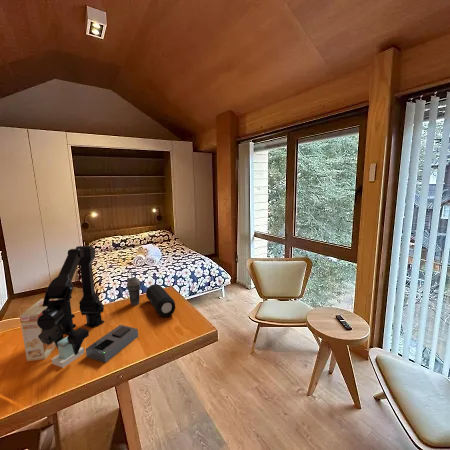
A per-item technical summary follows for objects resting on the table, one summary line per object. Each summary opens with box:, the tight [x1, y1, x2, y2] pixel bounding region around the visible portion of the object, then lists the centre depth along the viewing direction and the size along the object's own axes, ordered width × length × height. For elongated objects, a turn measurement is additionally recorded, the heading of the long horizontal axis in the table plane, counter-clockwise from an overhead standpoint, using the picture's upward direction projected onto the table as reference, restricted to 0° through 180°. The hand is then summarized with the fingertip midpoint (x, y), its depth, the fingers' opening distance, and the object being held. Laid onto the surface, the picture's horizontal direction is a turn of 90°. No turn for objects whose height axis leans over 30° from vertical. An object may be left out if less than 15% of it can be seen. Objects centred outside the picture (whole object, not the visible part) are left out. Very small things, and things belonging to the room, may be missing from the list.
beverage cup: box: [126, 270, 141, 306], centre depth 142 cm, size 7×7×20 cm
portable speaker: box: [145, 283, 176, 318], centre depth 137 cm, size 26×10×10 cm, turn 31°
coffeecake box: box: [19, 298, 58, 362], centre depth 103 cm, size 15×7×20 cm, turn 9°
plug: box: [57, 335, 74, 360], centre depth 98 cm, size 3×5×8 cm
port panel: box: [85, 324, 139, 364], centre depth 105 cm, size 10×18×5 cm, turn 158°
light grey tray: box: [51, 346, 86, 369], centre depth 98 cm, size 6×9×2 cm, turn 158°
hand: (68, 351), depth 98 cm, fingers open, 9 cm apart
